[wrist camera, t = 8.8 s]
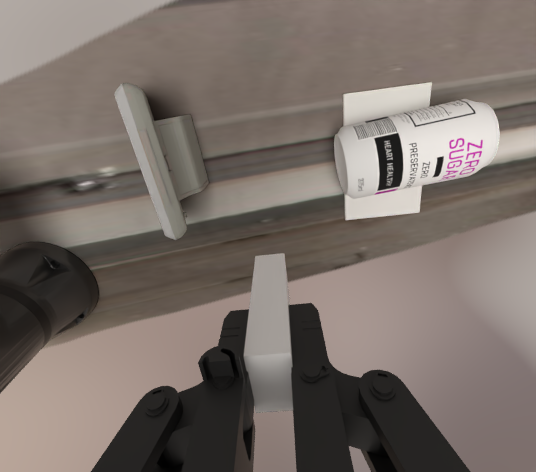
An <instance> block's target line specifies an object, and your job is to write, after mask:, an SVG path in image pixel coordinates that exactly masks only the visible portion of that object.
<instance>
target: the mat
mask: <svg viewBox="0 0 536 472" xmlns="http://www.w3.org/2000/svg"><path fill="white" fill-rule="evenodd" d="M431 85H432V82H429V83H422V84H415V85H407V86H400V87H392V88H385V89H378V90H370V91H363V92H355V93H348V94H343V126H348V125H352V124H356V123H361V122H365V121H370V120H374V119H378V118H383V117H387V116H392V115H396V114H400V113H405V112H409V111H414V110H418V109H422V108H427V107H429V106H430V95H431ZM421 189H422V185H421V186H416V187H411V188H406V189H401V190H396V191H391V192H386V193H381V194H376V195H371V196H366V197H361V198H356V199H352V198H351V197H350V196H348V195H345V194H344V208H345V220H351V219H361V218H371V217H380V216H390V215H400V214H409V213H419V210H420V200H421Z"/></svg>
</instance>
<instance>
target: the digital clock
mask: <svg viewBox="0 0 536 472" xmlns="http://www.w3.org/2000/svg"><path fill="white" fill-rule="evenodd" d="M115 98H116V101H117V105H118V107H119V110H120V113H121V116H122V118H123V121H124V124H125V127H126V129H127V132H128V135H129V138H130V141H131V143H132V146H133V149H134V152H135V154H136V157H137V160H138V163H139V165H140V168H141V171H142V174H143V177H144V179H145V182H146V185H147V188H148V190H149V193H150V196H151V199H152V201H153V204H154V207H155V210H156V213H157V215H158V218H159V221H160V224H161V226H162V229H163V232H164V234H165V236H167V237H169V238H172V239H174V240H176V239H179V238H181V237H182V236H183V235H184V234H185V232H186V231H187V226H186V222H185V217H187V214H186V212H183V209H182V206H181V203H180V200H182V199H184V198H186V197H188V196H190V195H193V194H196V193H199V192H201V191H202V190H203V189H204V188H205V187H206V186H207V184H208V183H209V181H208V177H207V173H206V170H205V166H204V162H203V158H202V155H201V151H200V147H199V144H198V140H197V136H196V133H195V129H194V125H193V122H192V119H191V115H190V114H189V115H183V116H178V117H173V118H168V119H162V120H157V121H154V118H153V115H152V112H151V109H150V106H149V103H148V100H147V97H146V95H145V93H144V92H143V90H142V89H141V88H139V87H138V86H136V85H133V84H130V83H123V84H121V85H120V86H119V87H118V89H117V90H116V92H115ZM153 124H154V125H153ZM145 129H146V130H145ZM146 131H147V132H146ZM156 133H157V134H156ZM147 134H148V135H147ZM157 136H158V137H157ZM148 137H149V138H148ZM149 140H150V141H149ZM150 143H151V144H150ZM151 146H152V147H151ZM152 149H153V150H152ZM153 152H154V153H153Z"/></svg>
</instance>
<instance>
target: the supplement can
mask: <svg viewBox="0 0 536 472" xmlns="http://www.w3.org/2000/svg"><path fill="white" fill-rule="evenodd" d="M499 136H500V132H499V124H498V120H497V117H496V115H495V113H494V111H493V110H492V109H491V107H490V106H489V105H488V104H486V103H483V102H474V101H471V100H467V99H462V100H457V101H453V102H449V103H444V104H440V105H435V106H431V107H427V108H422V109H418V110H414V111H409V112H405V113H400V114H396V115H392V116H387V117H383V118H378V119H374V120H370V121H365V122H361V123H356V124H352V125H348V126H343V127H341V128H340V130H339V132H338V133H337V134H335V138H334V153H335V162H336V168H337V174H338V178H339V182H340V185H341V188H342V190H343V192H344V194H345V195H348V196H350V197H351V198H352V199H356V198H361V197H366V196H371V195H376V194H381V193H386V192H391V191H396V190H401V189H406V188H411V187H416V186H421V185H427V184H432V183H437V182H442V181H447V180H452V179H457V178H462V177H467V176H470V175H472V174H474V173H476V172H477V171H478V170H480V169H481V168H482V167H484V166H486V165H488V164H489V163H490V162H491V161H492V159H493V158H494V157H495V154H496V152H497V149H498V146H499Z"/></svg>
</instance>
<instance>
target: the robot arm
mask: <svg viewBox="0 0 536 472" xmlns="http://www.w3.org/2000/svg"><path fill="white" fill-rule="evenodd" d="M97 301H98V287H97V283H96V280H95V278H94V276H93V275H92V273H91V271H90V270H89V269H88V267H87V266H86V265H85V264H84V263H83V262H82V261H81V260H80V259H78V258H77V257H76V256H74V255H73V254H72V253H70V252H68V251H66V250H64V249H62V248H60V247H58V246H55V245H52V244H48V243H42V242H28V243H23V244H20V245H17V246H15V247H14V248H12V249H10V250H8V251H7V252H5V253H3V254H2V255H1V256H0V393H1V392H2V391H3V390H4V389H5V388H6V386H7V385H8V384H9V383H10V382H11V381H12V380H13V379H14V378H15V377H16V376H17V375H18V373H19V372H20V371H21V370H22V369H23V368H24V367H25V366H26V365H27V364H28V363H29V362H30V361H31V359H32V358H33V357H34V356H35V355H36V354H37V353H38V352H39V351H40V350H41V349H42V348H43V347H44V346H45V344H46V343H47V342H48V341H49V340H51V339H53V338H55V337H56V336H58V335H60V334H62V333H64V332H65V331H67V330H69V329H71V328H72V327H74V326H76V325H78V324H79V323H81V322H82V321H83V320H84V319H85V318H86V317H87V316H88V315H89V314H90V313H91V311H92V310H93V309H94V308H95V306H96V304H97ZM198 364H199V367H200V371H201V374H202V377H203V380H204V381H203V382H202V383H200V384H199V385H197V386H195V387H193V388H190V389H187V390H184V391H181V392H179V393H177V391H176V390H175V388H172V387H170V386H161V387H158V388H155V389H153V390H151V391H150V392H148V393H147V394H146V395H145V396H144V397H143V398H142V399H141V400H140V401H139V402H138V404H137V405H136V407H135V408H134V410H133V411H132V413H131V414H130V416H129V417H128V418H127V420H126V421H125V423H124V424H123V426H122V427H121V429H120V430H119V432H118V433H117V434H116V436H115V438H114V439H113V440H112V442H111V443H110V445H109V446H108V448H107V449H106V451H105V452H104V453H103V455H102V456H101V458H100V459H99V461H98V462H97V464H96V465H95V467H94V468H93V469H92V471H91V472H253V460H254V442H255V441H254V440H255V425H254V420H253V413H254V407H255V412H256V413H261V412H277V411H293V414H294V415H293V416H294V433H295V450H296V468H297V472H354V470H353V465H352V461H351V456H350V451H349V446H352V447H355V448H358V449H361V451H362V453H363V455H364V457H365V460H366V461H367V464H368V466H369V468H370V470H371V472H470V471H469V469H468V468H467V467H466V465H465V464H464V463H463V462H462V460H461V459H460V458H459V456H458V455H457V453H456V452H455V451H454V449H453V448H452V447H451V445H450V444H449V443H448V441H447V440H446V439H445V437H444V436H443V435H442V434H441V432H440V431H439V430H438V429H437V427H436V426H435V424H434V423H433V422H432V420H431V419H430V418H429V416H428V415H427V414H426V413H425V411H424V410H423V409H422V407H421V406H420V405H419V403H418V402H417V401H416V399H415V398H414V397H413V395H412V394H411V392H410V391H409V390H408V388H407V387H406V386H405V384H404V383H403V382H402V381H401V380H400V379H399V378H398V377H397V376H395V375H394V374H392V373H390V372H387V371H383V370H371V371H369V372H367V373H365V374H363V376H362V377H361V378H359V377H354V376H350V375H347V374H343V373H341V372H340V371H338V370H336V369H335V368H334V367H333V366H332V365H331V363H330V362H329V359H328V356H327V351H326V346H325V341H324V337H323V332H322V328H321V322H320V318H319V313H318V310H317V309H316V308H315V306H314V305H313V304H312V303H307V304H296V305H290V300H289V290H288V281H287V273H286V264H285V255H284V253H281V254H271V255H261V256H255V264H254V272H253V281H252V289H251V298H250V307H249V309H248V310H236V311H230V313H229V314H228V315H227V316H226V318H225V319H224V322H223V326H222V331H221V335H220V339H219V344H218V346H217V347H214V348H212V349H210V350H208V351H207V352H205V353H204V354H203V356H201V358H200V360H199V362H198Z"/></svg>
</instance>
